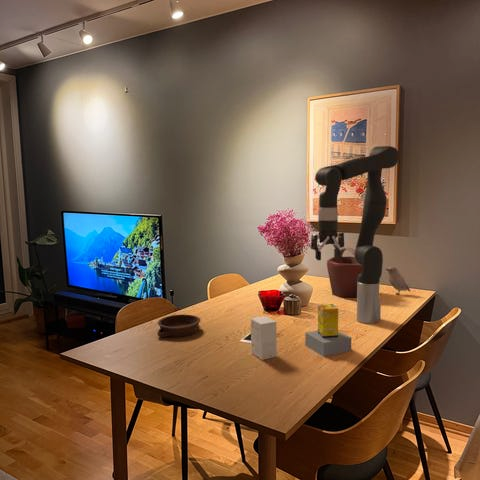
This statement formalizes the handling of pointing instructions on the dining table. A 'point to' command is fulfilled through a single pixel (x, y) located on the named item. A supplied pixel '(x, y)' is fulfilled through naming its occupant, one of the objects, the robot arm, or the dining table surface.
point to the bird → (397, 280)
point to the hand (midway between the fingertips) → (327, 259)
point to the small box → (263, 337)
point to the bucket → (344, 275)
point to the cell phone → (247, 339)
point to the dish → (178, 325)
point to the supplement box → (328, 320)
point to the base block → (327, 343)
